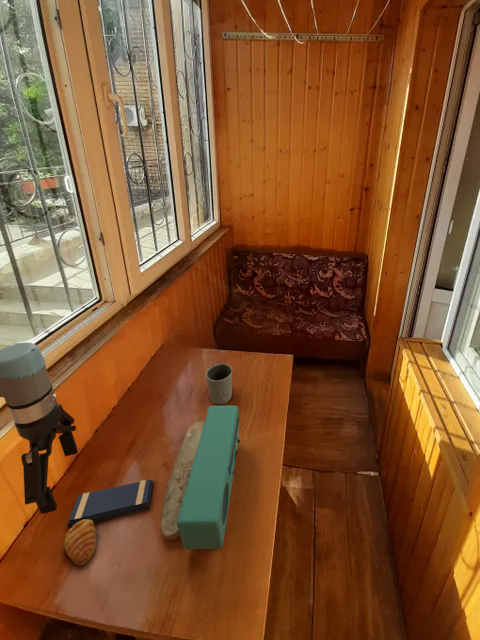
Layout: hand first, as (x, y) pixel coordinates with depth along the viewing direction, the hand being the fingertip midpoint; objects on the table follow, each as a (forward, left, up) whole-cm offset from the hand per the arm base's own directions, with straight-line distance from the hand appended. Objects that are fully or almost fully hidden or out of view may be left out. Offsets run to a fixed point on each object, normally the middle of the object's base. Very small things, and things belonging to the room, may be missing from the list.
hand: (61, 479), depth 74 cm
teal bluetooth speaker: (+35, +3, -21) cm, 41 cm away
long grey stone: (+26, +10, -21) cm, 35 cm away
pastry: (+1, -2, -21) cm, 21 cm away
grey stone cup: (+37, +40, -21) cm, 58 cm away
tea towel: (+6, +6, -21) cm, 23 cm away
